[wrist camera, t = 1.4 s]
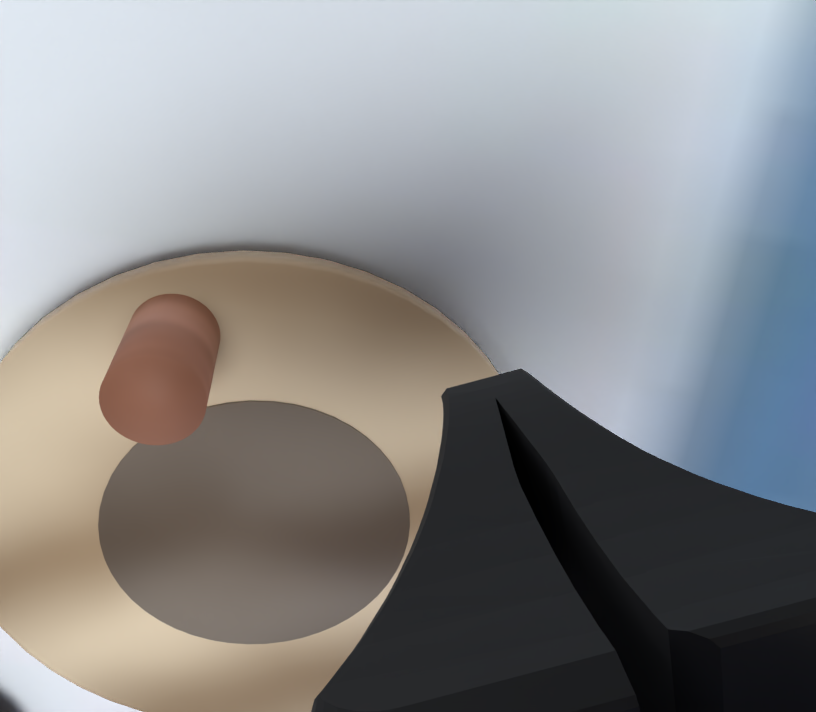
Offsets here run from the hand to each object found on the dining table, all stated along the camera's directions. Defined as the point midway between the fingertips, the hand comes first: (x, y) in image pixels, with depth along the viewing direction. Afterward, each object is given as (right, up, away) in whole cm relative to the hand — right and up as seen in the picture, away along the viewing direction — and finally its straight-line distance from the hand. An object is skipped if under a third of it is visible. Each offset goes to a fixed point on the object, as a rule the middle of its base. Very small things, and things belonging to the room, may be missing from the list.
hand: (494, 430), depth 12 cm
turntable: (-6, -3, +9) cm, 11 cm away
